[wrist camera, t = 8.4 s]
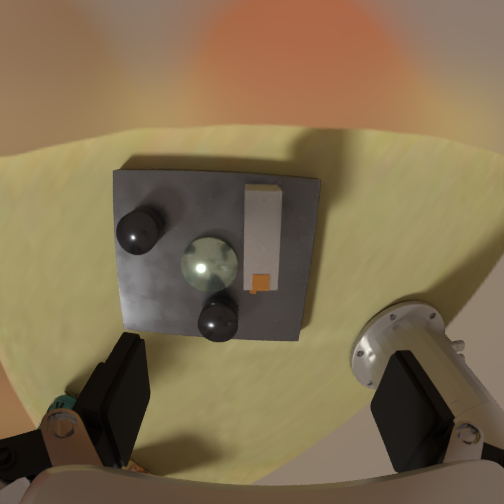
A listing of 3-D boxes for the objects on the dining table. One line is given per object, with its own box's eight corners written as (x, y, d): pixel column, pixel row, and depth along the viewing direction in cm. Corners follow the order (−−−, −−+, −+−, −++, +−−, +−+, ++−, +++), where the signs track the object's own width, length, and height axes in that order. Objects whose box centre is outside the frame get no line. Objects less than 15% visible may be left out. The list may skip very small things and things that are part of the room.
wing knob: (244, 180, 26) (244, 190, 20) (274, 181, 26) (282, 191, 20) (243, 260, 28) (243, 290, 22) (271, 260, 28) (277, 290, 22)
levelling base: (317, 178, 27) (328, 183, 23) (296, 333, 32) (301, 355, 29) (119, 169, 26) (101, 173, 23) (128, 321, 32) (116, 341, 28)
